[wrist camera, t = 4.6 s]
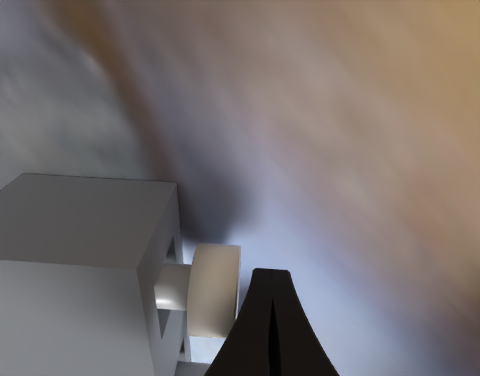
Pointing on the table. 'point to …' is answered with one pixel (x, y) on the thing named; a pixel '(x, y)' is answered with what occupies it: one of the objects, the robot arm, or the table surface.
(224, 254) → the knob ivory
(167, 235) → the mount
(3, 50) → the table surface
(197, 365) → the knob rust
